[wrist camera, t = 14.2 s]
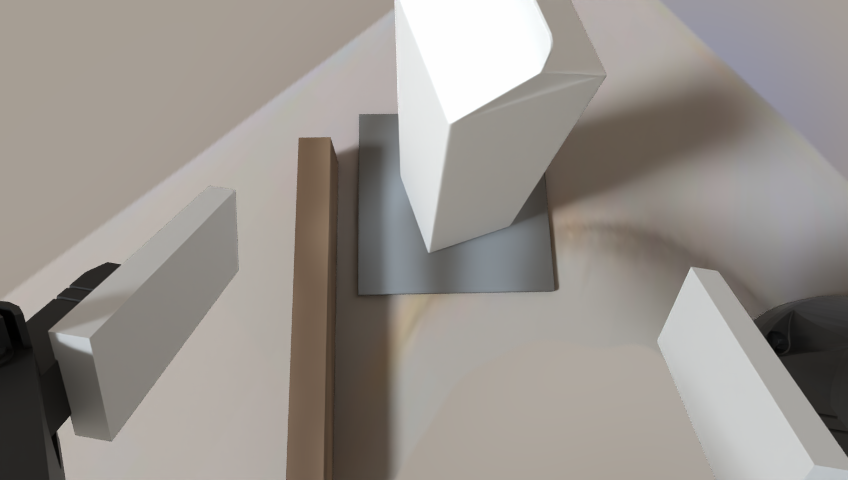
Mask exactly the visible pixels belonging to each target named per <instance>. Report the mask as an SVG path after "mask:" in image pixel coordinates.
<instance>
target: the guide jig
mask: <svg viewBox="0 0 848 480" xmlns="http://www.w3.org/2000/svg"><path fill="white" fill-rule="evenodd" d="M337 206H338V160H337V157H336V153H335V150H334V147H333V144H332V141H331V137H321V138H299V146H298V173H297V200H296V226H295V253H294V280H293V307H292V334H291V361H290V387H289V414H288V441H287V468H286V480H333V443H334V384H335V324H336V265H337ZM550 291H555V288H554V277H553V265H552V254H551V242H550V231H549V219H548V208H547V196H546V185H545V173H544V174H543V175H542V177H541V178H540V180H539V182H538V183H537V185H536V186H535V188H534V189H533V191H532V192H531V194H530V196H529V197H528V199H527V200H526V202H525V203H524V205H523V206H522V208H521V209H520V211H519V213H518V214H517V216H516V217H515V219H514V220H513V222H512V223H511V225H510V226H509V227H506V228H503V229H500V230H497V231H494V232H491V233H488V234H485V235H482V236H479V237H476V238H473V239H470V240H467V241H464V242H461V243H458V244H455V245H452V246H449V247H446V248H443V249H440V250H437V251H434V252H431V253H428V250H427V248H426V245H425V242H424V239H423V237H422V234H421V231H420V228H419V226H418V223H417V220H416V217H415V215H414V212H413V209H412V206H411V204H410V201H409V198H408V195H407V193H406V190H405V187H404V184H403V182H402V179H401V176H400V149H399V119H398V114H359V247H358V295H398V294H449V293H499V292H550Z"/></svg>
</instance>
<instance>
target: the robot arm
mask: <svg viewBox="0 0 848 480" xmlns="http://www.w3.org/2000/svg"><path fill="white" fill-rule="evenodd" d="M238 270H239V265H238V239H237V213H236V190H233V189H227V188H221V187H215V186H208V187H207V188H206V189H205V190H204V191H203V192H202V193H201V194H200V195H198V196H197V197H196V198H195V199H194V200H193V201H192V202H191V203H190V204H188V205H187V206H186V207H185V208H184V209H183V210H182V211H181V212H180V213H178V214H177V215H176V216H175V217H174V218H173V219H172V220H171V221H170V222H168V223H167V224H166V225H165V226H164V227H163V228H162V229H161V230H160V231H158V232H157V233H156V234H155V235H154V236H153V237H152V238H151V239H150V240H149V241H147V242H146V243H145V244H144V245H143V246H142V247H141V248H140V249H139V250H137V251H136V252H135V253H134V254H133V255H132V256H131V257H130V258H129V259H127V260H126V261H125V262H124V263H123V264H122V265H121V264H115V263H109V262H107V263H105V264H102V265H100V266H98V267H96V268H94V269H91V270H89V271H87V272H85V273H84V274H83V275H82V276H80V277H79V278H78V279H77V280H76V281H74V282H73V283H72V284H71V285H70V287H69V288H66V289H65V290H64V291H62V292H61V293H60V294H59V295H58V296H57V299H53V300H52V301H51V302H49V303H48V304H47V305H46V306H45V307H43V308H42V309H41V310H40V311H39V312H37V313H36V314H35V315H34V316H33V317H31V318H30V319H29V320H28V321H27V322H25V319H24V315H23V313H22V311H21V309H20V308H19V306H17V305H15V304H12V303H10V302H4V301H0V480H65V473H64V467H63V460H62V453H61V447H60V441H59V437H58V434H57V430H58V429H59V428H60V427H61V425H62V424H63V423H64V422H65V421H66V420H67V418H68V417H69V416H70V417H71V420H72V424H73V428H74V432H75V435H78V436H83V437H89V438H95V439H100V440H106V441H111V442H112V440H113V439H114V438H115V436H116V435H117V434H118V432H119V431H120V430H121V428H122V427H123V426H124V424H125V423H126V421H127V420H128V419H129V417H130V416H131V415H132V413H133V412H134V411H135V409H136V408H137V407H138V405H139V404H140V403H141V401H142V400H143V399H144V397H145V396H146V394H147V393H148V392H149V390H150V389H151V388H152V386H153V385H154V384H155V382H156V381H157V380H158V378H159V377H160V376H161V374H162V373H163V371H164V370H165V369H166V367H167V366H168V365H169V363H170V362H171V361H172V359H173V358H174V357H175V355H176V354H177V353H178V351H179V350H180V349H181V347H182V346H183V344H184V343H185V342H186V340H187V339H188V338H189V336H190V335H191V334H192V332H193V331H194V330H195V328H196V327H197V326H198V324H199V323H200V322H201V320H202V319H203V317H204V316H205V315H206V313H207V312H208V311H209V309H210V308H211V307H212V305H213V304H214V303H215V301H216V300H217V299H218V297H219V296H220V294H221V293H222V292H223V290H224V289H225V288H226V286H227V285H228V284H229V282H230V281H231V280H232V278H233V277H234V276H235V274H236V273H237V272H238ZM657 342H658V345H659V347H660V349H661V352H662V354H663V357H664V359H665V361H666V364H667V366H668V368H669V370H670V373H671V375H672V377H673V380H674V382H675V385H676V387H677V389H678V392H679V394H680V397H681V399H682V401H683V404H684V406H685V408H686V411H687V413H688V415H689V418H690V420H691V423H692V425H693V427H694V430H695V432H696V434H697V437H698V439H699V441H700V444H701V446H702V448H703V451H704V453H705V455H706V458H707V460H708V462H709V465H710V467H711V470H712V472H713V474H714V477H715V479H716V480H848V296H821V297H815V298H810V299H805V300H800V301H796V302H791V303H787V304H784V305H781V306H778V307H776V308H774V309H772V310H770V311H768V312H766V313H764V314H763V315H761V316H760V317H758V318H757V319H756V320H754V321H752V319H751V318H750V316H749V315H748V313H747V312H746V311H745V309H744V308H743V306H742V305H741V303H740V302H739V301H738V299H737V298H736V296H735V295H734V293H733V292H732V290H731V289H730V288H729V286H728V285H727V283H726V282H725V280H724V279H723V278H722V276H721V275H720V273H719V272H718V271H714V270H708V269H702V268H696V267H691V268H690V270H689V272H688V274H687V277H686V279H685V281H684V283H683V285H682V288H681V290H680V292H679V294H678V296H677V299H676V301H675V303H674V305H673V308H672V310H671V312H670V314H669V316H668V319H667V321H666V323H665V325H664V327H663V330H662V332H661V334H660V336H659V338H658V341H657Z"/></svg>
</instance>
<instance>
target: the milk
mask: <svg viewBox="0 0 848 480" xmlns="http://www.w3.org/2000/svg"><path fill="white" fill-rule="evenodd" d="M395 29H396V59H397V89H398V119H399V149H400V176H401V179H402V182H403V184H404V187H405V190H406V193H407V195H408V198H409V201H410V204H411V206H412V209H413V212H414V215H415V217H416V220H417V223H418V226H419V228H420V231H421V234H422V237H423V239H424V242H425V245H426V248H427V250H428V253H431V252H434V251H437V250H440V249H443V248H446V247H449V246H452V245H455V244H458V243H461V242H464V241H467V240H470V239H473V238H476V237H479V236H482V235H485V234H488V233H491V232H494V231H497V230H500V229H503V228H506V227H509V226H510V225H511V223H512V222H513V220H514V219H515V217H516V216H517V214H518V213H519V211H520V209H521V208H522V206H523V205H524V203H525V202H526V200H527V199H528V197H529V196H530V194H531V192H532V191H533V189H534V188H535V186H536V185H537V183H538V182H539V180H540V178H541V177H542V175H543V174H544V172H545V171H546V169H547V168H548V166H549V164H550V163H551V161H552V160H553V158H554V157H555V155H556V154H557V152H558V151H559V149H560V147H561V146H562V144H563V143H564V141H565V140H566V138H567V137H568V135H569V133H570V132H571V130H572V129H573V127H574V126H575V124H576V123H577V121H578V119H579V118H580V116H581V115H582V113H583V112H584V110H585V109H586V107H587V106H588V104H589V102H590V101H591V99H592V98H593V96H594V95H595V93H596V92H597V90H598V88H599V87H600V85H601V84H602V82H603V81H604V79H605V78H606V75H607V74H606V72H605V70H604V68H603V65H602V63H601V61H600V59H599V57H598V55H597V53H596V51H595V49H594V47H593V45H592V43H591V41H590V39H589V37H588V35H587V33H586V30H585V28H584V26H583V24H582V22H581V20H580V18H579V16H578V14H577V12H576V10H575V8H574V6H573V4H572V2H571V0H395Z"/></svg>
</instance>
